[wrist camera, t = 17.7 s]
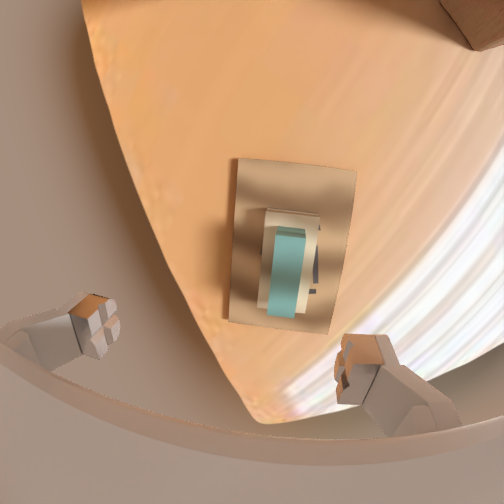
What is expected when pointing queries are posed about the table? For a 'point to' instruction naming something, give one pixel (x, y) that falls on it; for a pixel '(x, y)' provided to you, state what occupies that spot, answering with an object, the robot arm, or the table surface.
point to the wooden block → (478, 21)
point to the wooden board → (252, 232)
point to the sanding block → (287, 261)
